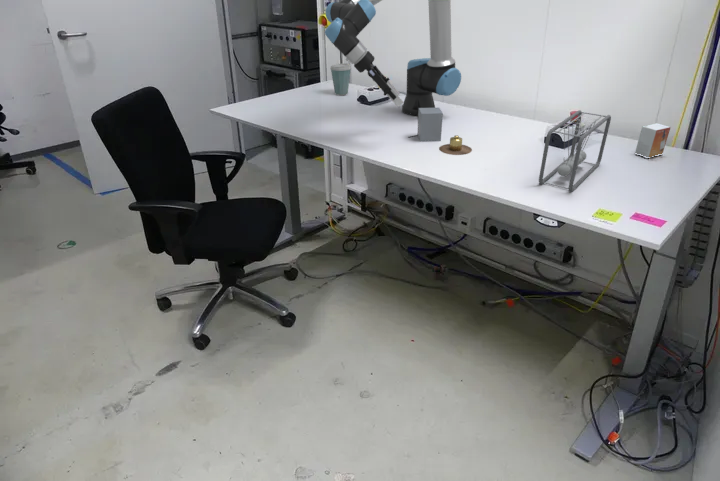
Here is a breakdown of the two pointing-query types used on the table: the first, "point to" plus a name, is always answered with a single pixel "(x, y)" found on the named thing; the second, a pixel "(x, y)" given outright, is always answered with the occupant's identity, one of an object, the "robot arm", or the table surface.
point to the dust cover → (429, 124)
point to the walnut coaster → (463, 151)
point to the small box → (652, 139)
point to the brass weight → (455, 143)
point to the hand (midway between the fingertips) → (399, 100)
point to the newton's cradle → (580, 155)
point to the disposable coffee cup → (341, 78)
